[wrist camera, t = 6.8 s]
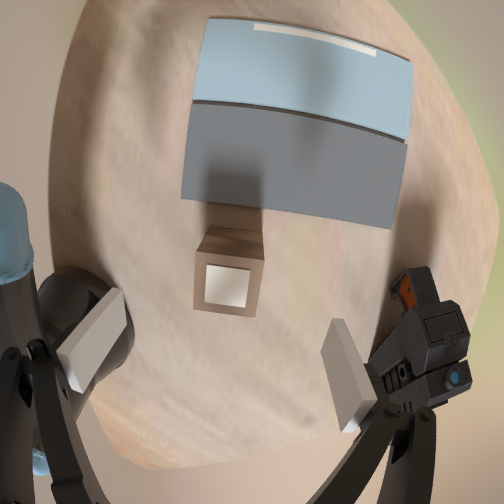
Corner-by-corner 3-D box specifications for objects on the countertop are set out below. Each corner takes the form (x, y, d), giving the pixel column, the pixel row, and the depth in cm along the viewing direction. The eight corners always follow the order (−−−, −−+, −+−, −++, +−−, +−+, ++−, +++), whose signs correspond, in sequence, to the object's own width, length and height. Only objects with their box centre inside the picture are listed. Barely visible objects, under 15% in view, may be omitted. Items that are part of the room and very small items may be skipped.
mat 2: (182, 197, 25) (180, 198, 24) (193, 104, 22) (191, 103, 21) (388, 228, 26) (390, 229, 25) (404, 144, 22) (407, 144, 22)
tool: (439, 251, 23) (487, 384, 14) (387, 327, 38) (405, 416, 29) (393, 257, 24) (437, 408, 14) (352, 334, 38) (368, 426, 29)
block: (207, 272, 28) (193, 309, 21) (210, 226, 26) (195, 251, 19) (255, 279, 28) (255, 318, 21) (262, 232, 26) (264, 260, 20)
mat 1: (193, 99, 22) (191, 98, 21) (208, 21, 18) (207, 18, 18) (405, 140, 22) (408, 140, 22) (410, 64, 19) (413, 63, 18)
